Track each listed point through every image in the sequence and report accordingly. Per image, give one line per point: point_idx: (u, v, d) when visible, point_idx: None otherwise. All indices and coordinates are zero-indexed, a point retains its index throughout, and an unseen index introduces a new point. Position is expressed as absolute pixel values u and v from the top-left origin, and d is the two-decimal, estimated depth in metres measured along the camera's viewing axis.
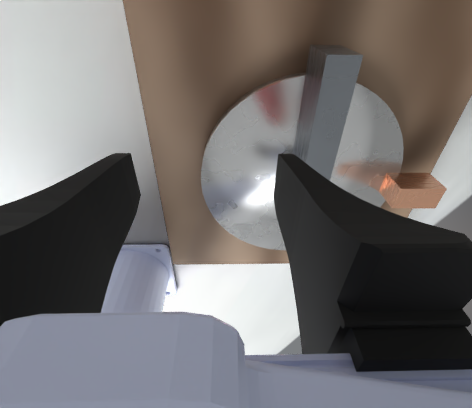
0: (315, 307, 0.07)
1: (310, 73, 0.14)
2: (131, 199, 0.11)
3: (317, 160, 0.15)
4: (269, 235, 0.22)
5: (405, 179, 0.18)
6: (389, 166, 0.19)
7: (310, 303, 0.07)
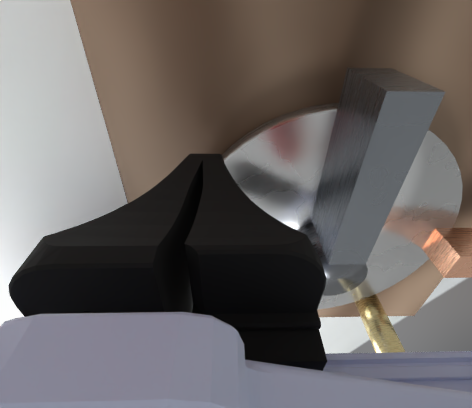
0: None
1: (347, 109, 0.10)
2: None
3: (355, 232, 0.10)
4: None
5: (462, 239, 0.14)
6: (439, 220, 0.14)
7: None
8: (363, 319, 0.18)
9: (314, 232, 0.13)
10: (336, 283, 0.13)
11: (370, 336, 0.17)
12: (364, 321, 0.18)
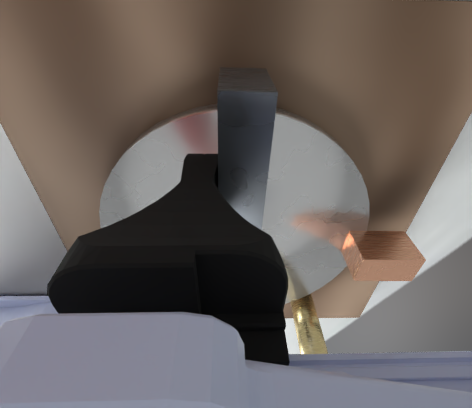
0: None
1: None
2: None
3: None
4: None
5: (372, 242, 0.14)
6: (352, 223, 0.14)
7: None
8: (294, 321, 0.18)
9: None
10: None
11: (298, 338, 0.17)
12: (295, 323, 0.18)
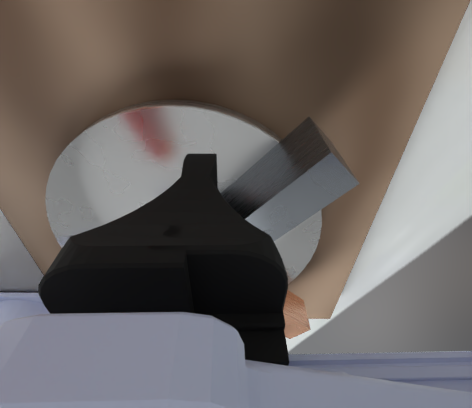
0: None
1: (289, 147, 0.10)
2: None
3: None
4: None
5: (285, 299, 0.16)
6: None
7: None
8: None
9: None
10: None
11: None
12: None
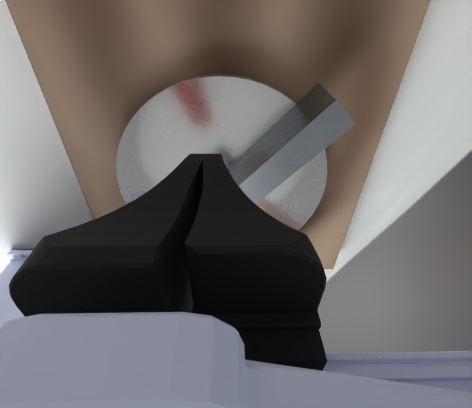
0: None
1: (304, 104, 0.14)
2: None
3: (261, 179, 0.15)
4: None
5: None
6: (293, 222, 0.20)
7: None
8: None
9: None
10: None
11: None
12: None
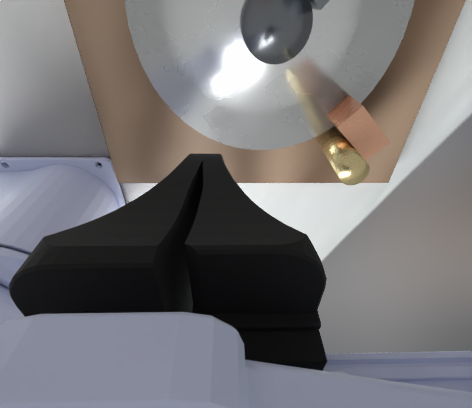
0: None
1: None
2: None
3: None
4: (179, 78, 0.15)
5: None
6: (357, 88, 0.15)
7: None
8: (326, 151, 0.17)
9: None
10: (271, 38, 0.12)
11: (332, 160, 0.16)
12: (327, 152, 0.17)
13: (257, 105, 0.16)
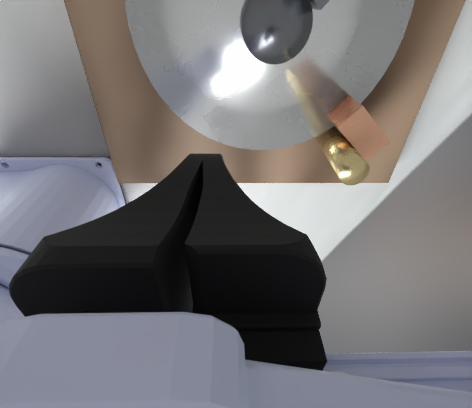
0: None
1: None
2: None
3: None
4: (179, 78, 0.15)
5: None
6: (357, 88, 0.15)
7: None
8: (326, 151, 0.17)
9: None
10: (271, 38, 0.12)
11: (332, 160, 0.16)
12: (327, 152, 0.17)
13: (257, 105, 0.16)
